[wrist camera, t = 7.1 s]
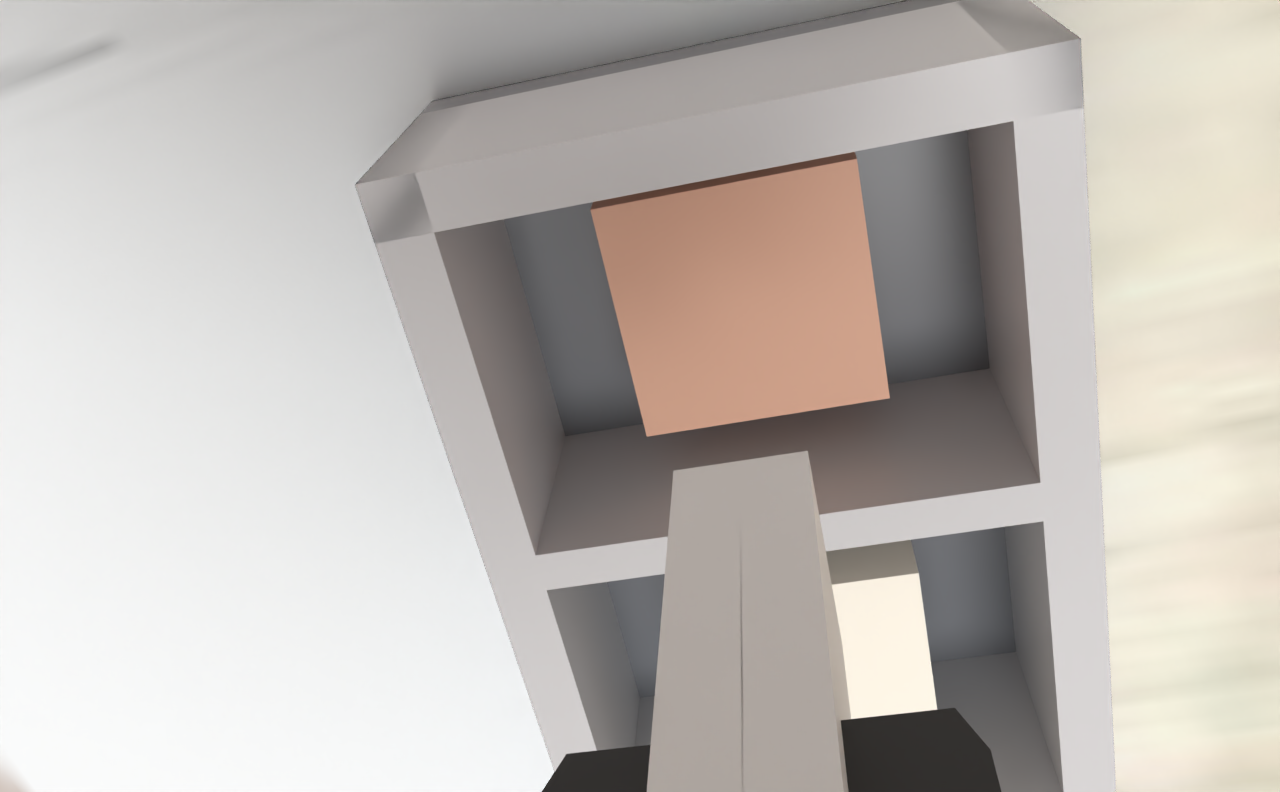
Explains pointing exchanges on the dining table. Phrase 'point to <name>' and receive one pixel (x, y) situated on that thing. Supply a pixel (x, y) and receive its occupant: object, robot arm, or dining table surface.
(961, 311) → the grey compartment tray
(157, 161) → the dining table surface
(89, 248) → the dining table surface
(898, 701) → the key cream
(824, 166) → the key terracotta
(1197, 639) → the dining table surface
